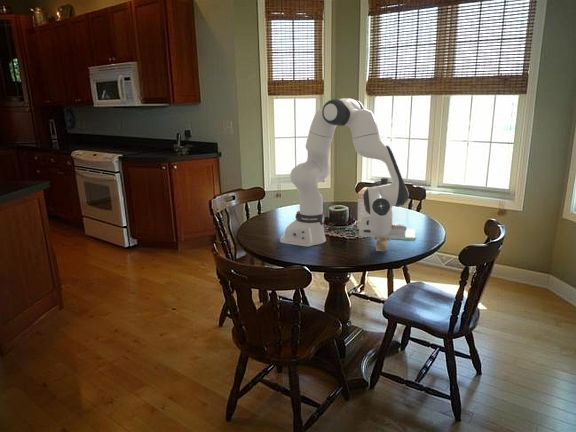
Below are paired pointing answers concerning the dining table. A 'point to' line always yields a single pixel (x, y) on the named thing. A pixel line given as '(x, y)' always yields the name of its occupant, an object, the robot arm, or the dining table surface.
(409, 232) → the white square tile
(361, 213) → the coffeecake box
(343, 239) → the dining table surface
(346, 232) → the dining table surface
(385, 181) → the canister
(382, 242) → the maple block
